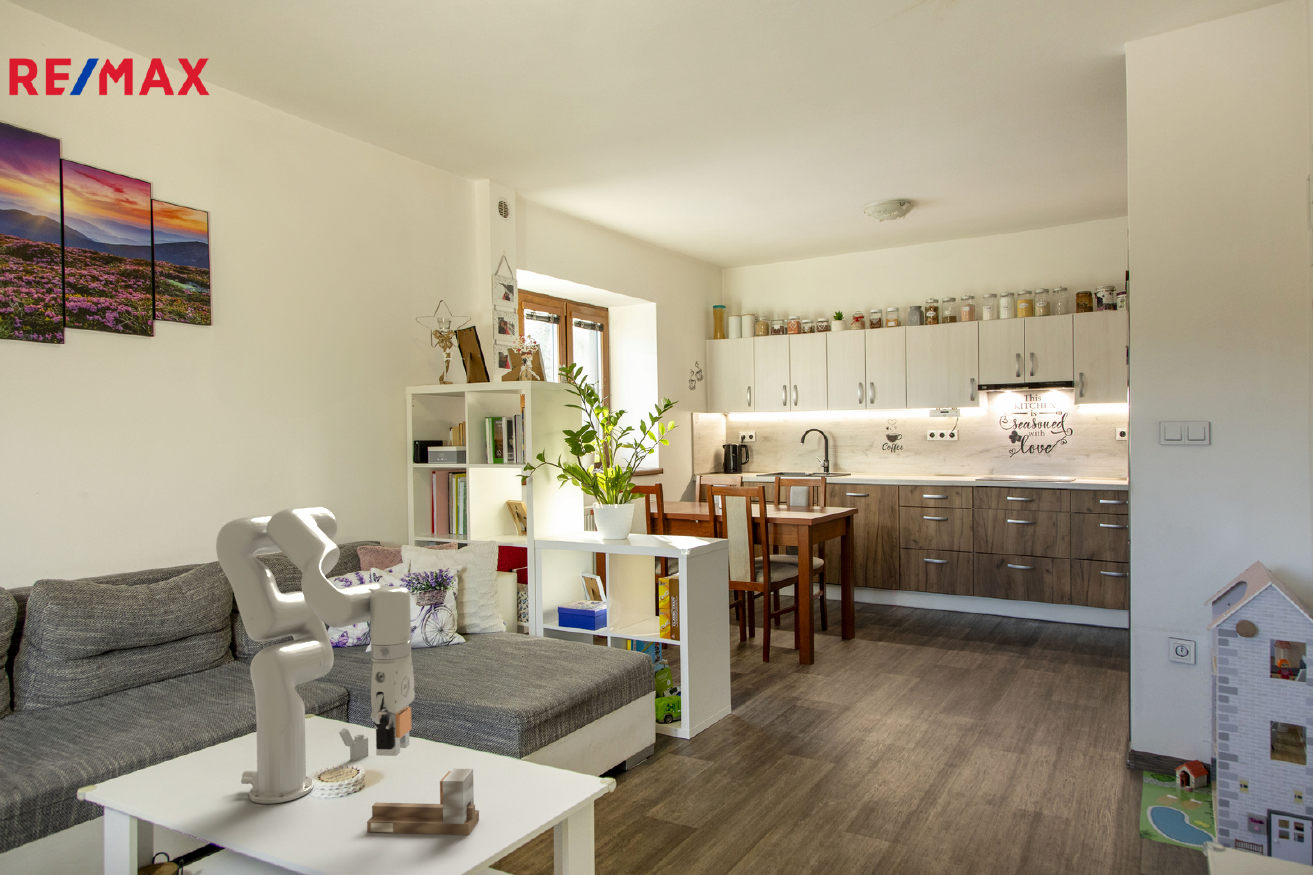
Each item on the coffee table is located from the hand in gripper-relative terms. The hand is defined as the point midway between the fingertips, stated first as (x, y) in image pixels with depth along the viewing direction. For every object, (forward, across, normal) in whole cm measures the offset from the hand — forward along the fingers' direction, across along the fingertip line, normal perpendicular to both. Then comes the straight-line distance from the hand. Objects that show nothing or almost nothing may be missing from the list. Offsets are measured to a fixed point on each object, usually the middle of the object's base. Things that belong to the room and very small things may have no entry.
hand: (392, 741), depth 162 cm
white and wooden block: (+2, 0, 0) cm, 2 cm away
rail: (+16, -1, -7) cm, 17 cm away
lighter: (+16, +31, +24) cm, 42 cm away
